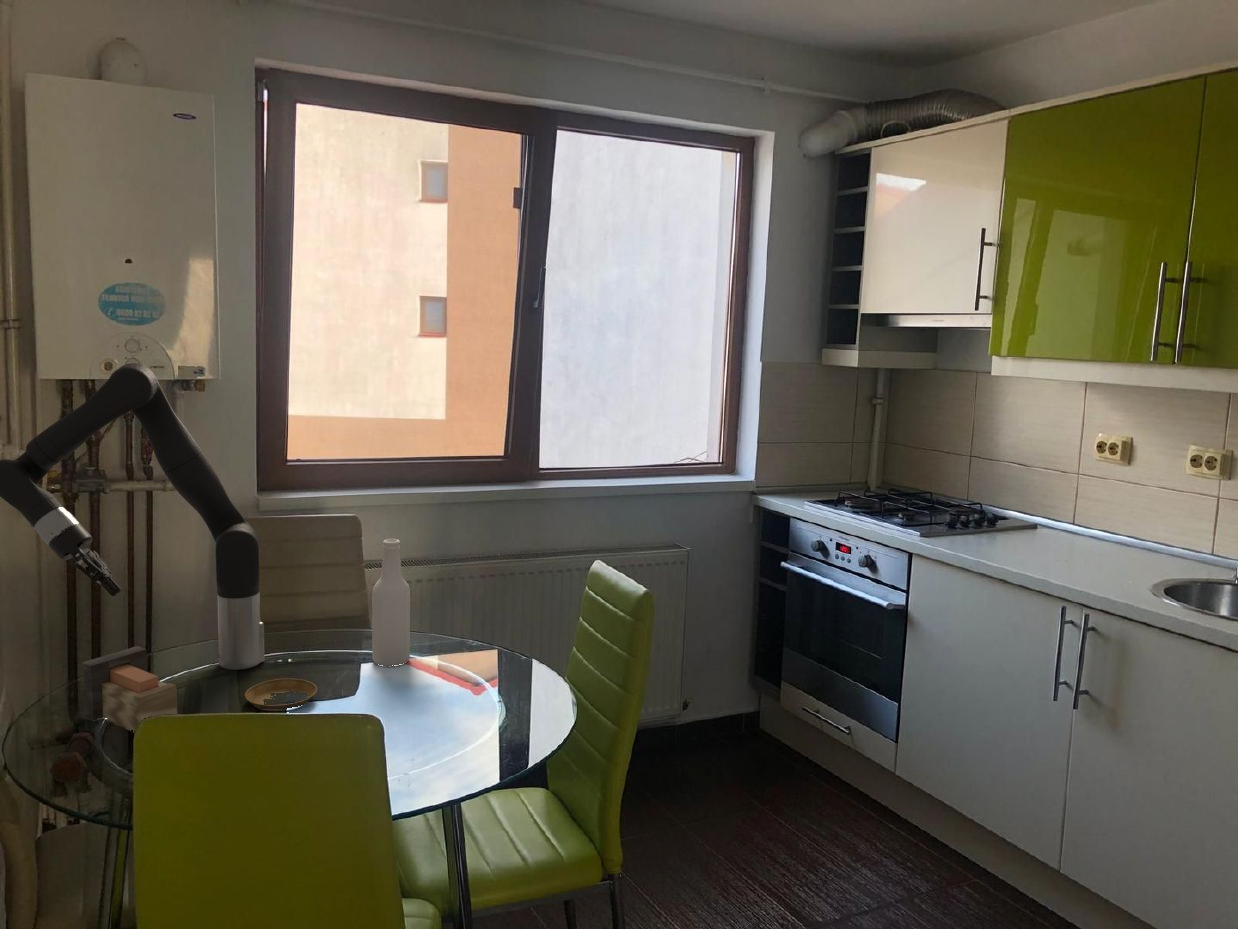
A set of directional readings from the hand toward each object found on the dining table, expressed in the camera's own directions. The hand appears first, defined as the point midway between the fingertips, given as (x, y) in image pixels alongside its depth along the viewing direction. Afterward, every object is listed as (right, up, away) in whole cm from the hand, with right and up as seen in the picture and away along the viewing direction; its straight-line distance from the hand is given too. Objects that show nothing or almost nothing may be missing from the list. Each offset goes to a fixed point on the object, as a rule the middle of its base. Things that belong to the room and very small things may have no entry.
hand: (117, 593), depth 216 cm
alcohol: (+53, -20, +26) cm, 62 cm away
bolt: (+8, -28, -29) cm, 41 cm away
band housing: (+9, -24, -11) cm, 28 cm away
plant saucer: (+35, -24, +1) cm, 42 cm away
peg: (+8, -18, -11) cm, 23 cm away
